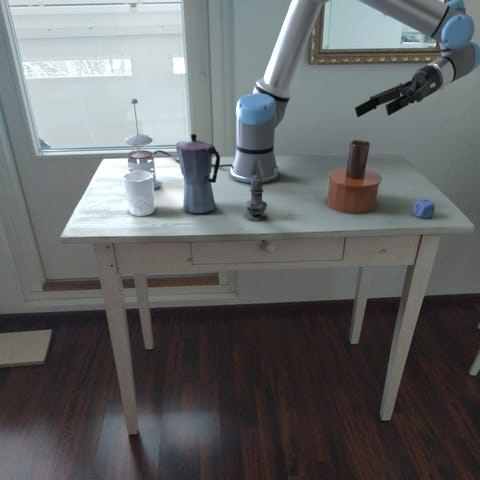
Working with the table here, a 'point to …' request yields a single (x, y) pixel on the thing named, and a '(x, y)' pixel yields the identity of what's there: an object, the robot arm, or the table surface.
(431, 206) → the decorative dice
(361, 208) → the pot
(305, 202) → the table surface
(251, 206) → the salt shaker
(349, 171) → the lid
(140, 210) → the white cup
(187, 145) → the moka pot
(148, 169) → the french press
